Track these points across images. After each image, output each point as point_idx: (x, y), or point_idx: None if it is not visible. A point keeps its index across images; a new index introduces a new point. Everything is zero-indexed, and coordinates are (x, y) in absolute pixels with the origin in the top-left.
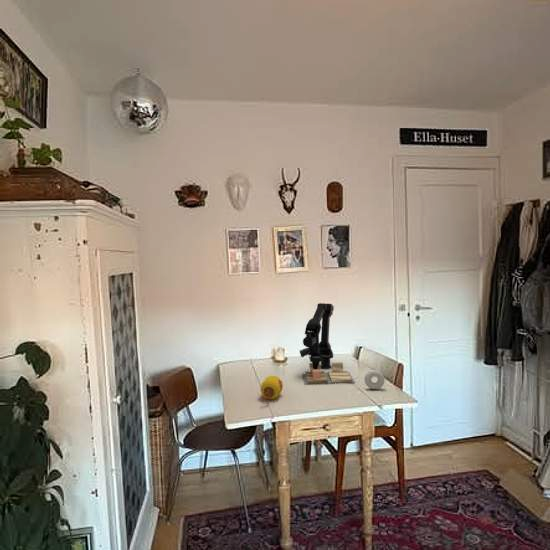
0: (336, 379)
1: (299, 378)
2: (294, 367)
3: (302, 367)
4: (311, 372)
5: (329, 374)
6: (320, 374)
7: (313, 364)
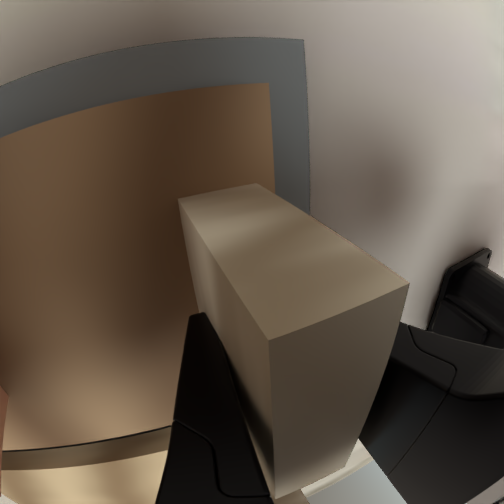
0: (8, 490)
1: (29, 12)
2: (495, 31)
3: (496, 98)
4: (186, 236)
5: (135, 459)
6: (99, 394)
7: (170, 480)
